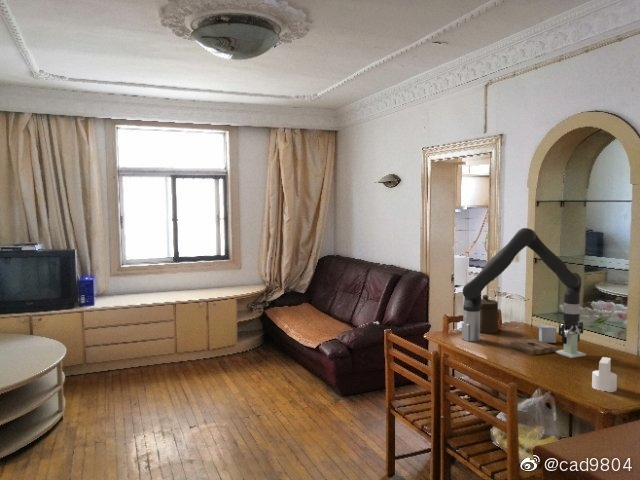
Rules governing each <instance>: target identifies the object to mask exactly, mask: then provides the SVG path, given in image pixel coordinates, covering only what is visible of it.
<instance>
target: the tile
mask: <svg viewBox="0 0 640 480" xmlns="http://www.w3.org/2000/svg"><path fill="white" fill-rule="evenodd" d="M554 353H556V354H559V355H561V356H564V357H568V358H570V359H573V358H579V357H585V356H587V353H584V352H581V351H578V350H577V353H575V354H569V353H566V352H563V349H557V351H555V352H554Z"/></svg>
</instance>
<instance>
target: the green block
mask: <svg viewBox="0 0 640 480" xmlns="http://www.w3.org/2000/svg"><path fill="white" fill-rule="evenodd" d="M578 343H579V342H578V334H576V333H574V331H572V332H570V333H569V334H568V335H567V344H563V349H562V350H563V352H566V353H569V354H575V353H577V351H578V346H579V345H578Z"/></svg>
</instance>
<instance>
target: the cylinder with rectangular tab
mask: <svg viewBox="0 0 640 480" xmlns="http://www.w3.org/2000/svg"><path fill="white" fill-rule="evenodd" d="M611 360H612V359H611V357H606V356H602V357H601V359H600V360H599V362H598V370H597V369H596V370H594V371H593V370H592V373H591V375H592V376H591V379H592V380H591V387H592V388H593V389H594V390H596V389H597V391H599V390H601V391H600V392H604V391H607V392H606V393H615V392H617V390H618V389H617V387H618V385H617V384H618V375H617V374H616V373H615V372H612V371H611V364H612V363H611V362H612V361H611ZM614 391H615V392H614Z"/></svg>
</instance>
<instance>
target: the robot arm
mask: <svg viewBox="0 0 640 480" xmlns="http://www.w3.org/2000/svg"><path fill="white" fill-rule="evenodd" d="M526 247H527V248H529V249H530V250H532V251H533V252H534V253H535V254H536V255H537V256H538V257H539V258H540V260H541V261H542V262H543V263H544V264H545V265H546V266H547V268H548V269H550V270H551V271H552V272H553V273H554V274H555V275H556V277H557V278H558V279H559V280H560V282H561V283H562V284H563V285H564V286H565V287H566V289H565V292H564V296H563V306H562V307H563V311H562V315H563V316H562V320H563V322H564V323H559V324H558V335H557V336H561V343H562V345H564V344H567V335H568V334H569V333H570V332H573V333H576V334H578V343H580V340H581V339H580V337H581V335H582V334H584V322H583V321H580V316H581V315H580V313H581V307H580V298H581V297H580V294H581V289H582V277H581V276H580V274H579V273H577V272H572V271H571V270H570V269H569V268H568V266H567V264H566V263H565V262H564V261H563V260H562V259H561V258H560V257H559V256H558V255H557V254H555V253H554V252H553V250H551V249H550V248H549V247H548V246H547V245H545V244H544V242H543V241H542V240H541V239H540V238H539V236H538V235H537V233H536V232H535V231H534V229H531V228H529V227H522V228H519V230H518V231H517V232H515V234H514V236H513V237H512V238H511V239H510V240H509V242H508V243H507V244H506V245H505V246H504V247H502V248H501V249H500V250H499V251H498V252H497V253H495V255H494V256H493V257H491V258H490V259H489V261H488V262H487V263H486V264H485V265H484V266H483V268H482V269H481V270H480V272H479V273H478V274H477V275H476V276H475V277H474V278H473V279H471V280H470V281H469V282H467V283H466V284H465V285H463V288H462V295H463V297H464V301H463V302H464V303H463V306H462V307H463V311H462V312H463V313H462V314H463V319H462V321H463V322H461V339H462V340H464V341H465V342H479V341H480V340H481V333H480V306H481V299H482V291H483V290H484V289H485V288H486V287H487V285H489V284H490V283H491V282H492V281H494V280H495V279H497V278H498V277H499V276H500V275H501V274H502V273H503V272H504V271H505V270H506V269H508V267H509V266H511V264H512V262H513V261H514V259H515V258H516V256H517V254H519V253H520V252H522V250H523V249H525V248H526Z"/></svg>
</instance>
